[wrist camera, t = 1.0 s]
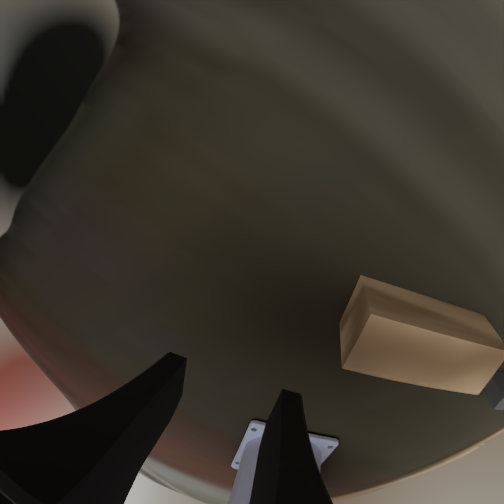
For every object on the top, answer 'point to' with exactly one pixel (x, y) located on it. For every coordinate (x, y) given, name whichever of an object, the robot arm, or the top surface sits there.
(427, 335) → the brown wooden block
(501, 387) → the end cap
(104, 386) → the top surface
